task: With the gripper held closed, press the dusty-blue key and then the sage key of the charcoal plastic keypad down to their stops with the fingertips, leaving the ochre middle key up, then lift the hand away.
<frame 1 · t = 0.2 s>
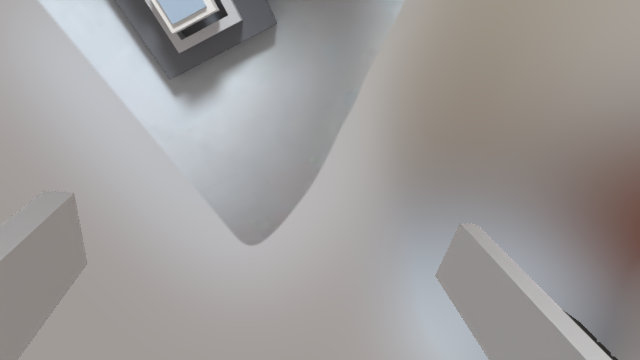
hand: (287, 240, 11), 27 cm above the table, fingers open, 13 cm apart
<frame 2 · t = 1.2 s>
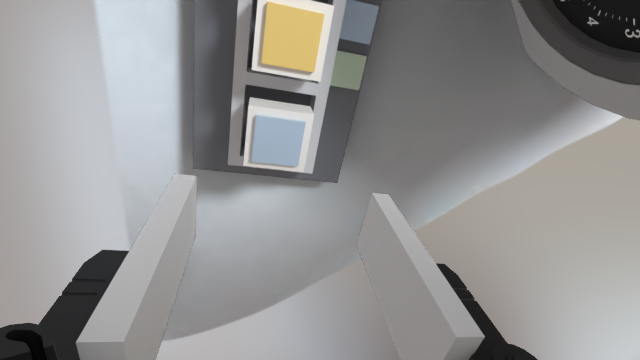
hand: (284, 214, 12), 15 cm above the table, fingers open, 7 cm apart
keypad: (285, 32, 23), on the table
key blue: (277, 136, 20), point 6 cm above the table, slide at 0.0 cm
key ochre: (290, 37, 18), point 6 cm above the table, slide at 0.0 cm
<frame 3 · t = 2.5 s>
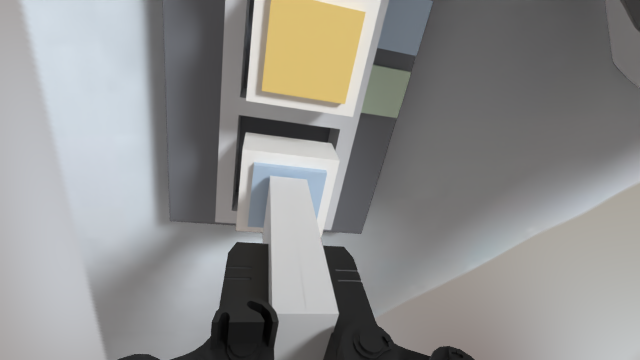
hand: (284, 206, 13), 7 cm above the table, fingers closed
keypad: (296, 38, 16), on the table
key blue: (285, 187, 14), point 6 cm above the table, slide at 0.3 cm, touching gripper
key ochre: (308, 49, 11), point 6 cm above the table, slide at 0.0 cm
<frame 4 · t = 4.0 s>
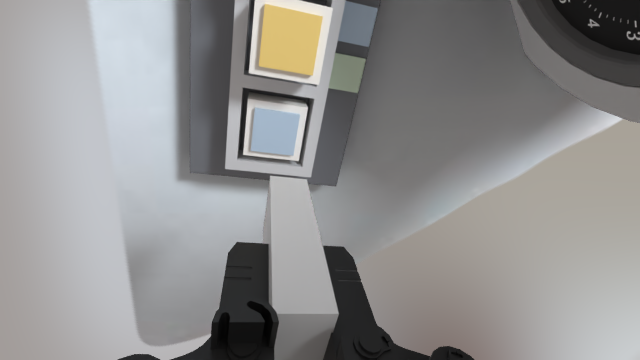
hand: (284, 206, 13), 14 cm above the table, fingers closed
keypad: (283, 34, 23), on the table
key blue: (274, 127, 22), point 3 cm above the table, slide at 2.5 cm
key ochre: (288, 40, 17), point 6 cm above the table, slide at 0.0 cm
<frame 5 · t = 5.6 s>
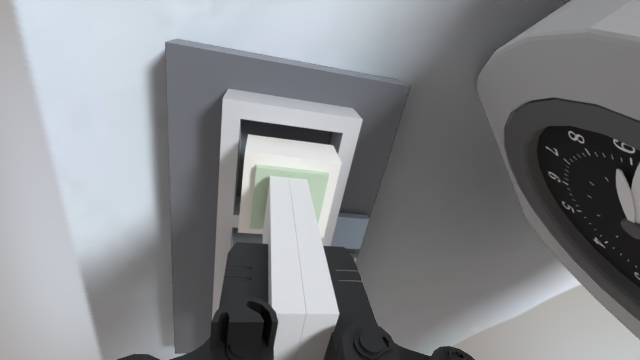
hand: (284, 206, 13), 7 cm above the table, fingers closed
alarm clock: (551, 132, 22), on the table
keypad: (271, 225, 22), on the table
key sage: (287, 189, 14), point 5 cm above the table, slide at 0.6 cm, touching gripper
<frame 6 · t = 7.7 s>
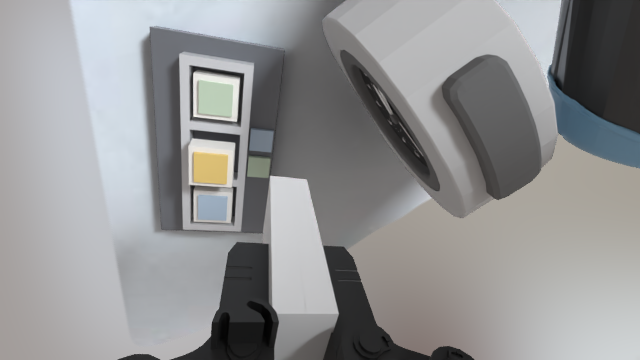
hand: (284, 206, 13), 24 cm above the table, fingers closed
alarm clock: (387, 81, 36), on the table
keypad: (219, 142, 35), on the table
key blue: (213, 203, 35), point 3 cm above the table, slide at 2.5 cm
key ochre: (212, 164, 30), point 6 cm above the table, slide at 0.0 cm
key sage: (217, 96, 30), point 3 cm above the table, slide at 2.5 cm
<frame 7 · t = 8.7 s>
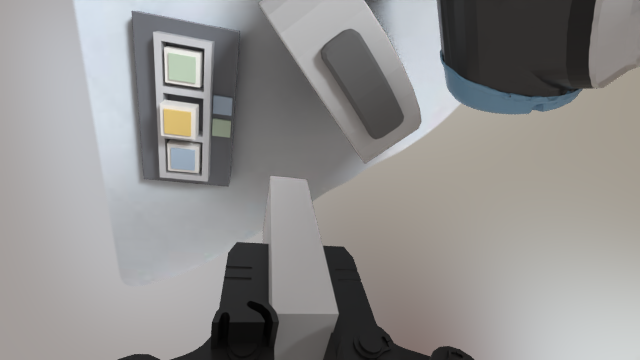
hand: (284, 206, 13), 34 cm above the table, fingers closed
alarm clock: (328, 61, 44), on the table
keypad: (190, 107, 44), on the table
key blue: (184, 156, 43), point 3 cm above the table, slide at 2.5 cm
key ochre: (179, 120, 38), point 6 cm above the table, slide at 0.0 cm
key sage: (184, 67, 38), point 3 cm above the table, slide at 2.5 cm
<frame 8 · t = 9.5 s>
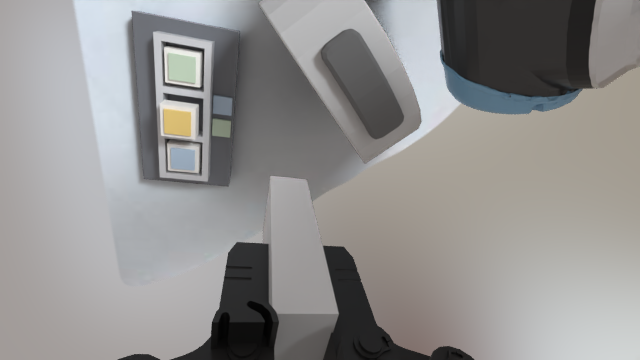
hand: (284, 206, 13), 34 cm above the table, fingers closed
alarm clock: (328, 61, 44), on the table
keypad: (190, 107, 44), on the table
key blue: (184, 156, 43), point 3 cm above the table, slide at 2.5 cm
key ochre: (179, 120, 38), point 6 cm above the table, slide at 0.0 cm
key sage: (184, 67, 38), point 3 cm above the table, slide at 2.5 cm
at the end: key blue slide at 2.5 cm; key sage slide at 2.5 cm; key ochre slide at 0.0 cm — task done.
